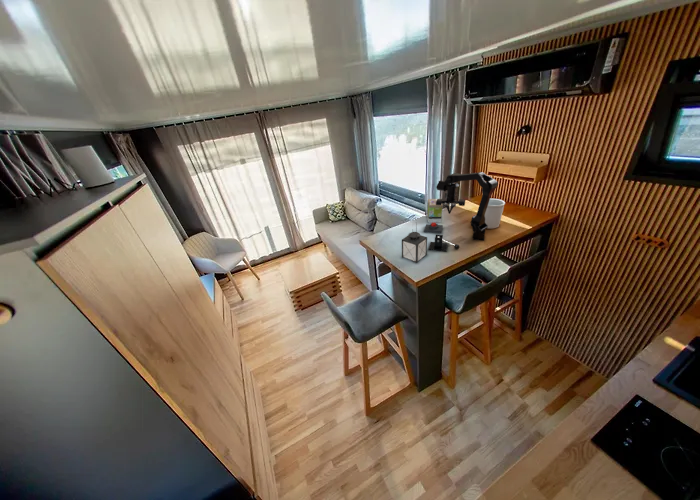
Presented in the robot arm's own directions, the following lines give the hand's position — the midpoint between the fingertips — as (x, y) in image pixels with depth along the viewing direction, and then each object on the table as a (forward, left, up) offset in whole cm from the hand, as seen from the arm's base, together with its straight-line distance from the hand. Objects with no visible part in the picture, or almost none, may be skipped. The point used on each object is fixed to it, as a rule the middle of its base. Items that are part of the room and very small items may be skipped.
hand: (449, 213), depth 180 cm
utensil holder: (-27, -11, -12) cm, 32 cm away
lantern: (+17, +43, -12) cm, 48 cm away
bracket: (+4, +29, -12) cm, 32 cm away
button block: (+10, +4, -12) cm, 16 cm away
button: (+10, +4, -8) cm, 14 cm away
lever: (-1, +29, -9) cm, 30 cm away
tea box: (+12, -16, -12) cm, 23 cm away
